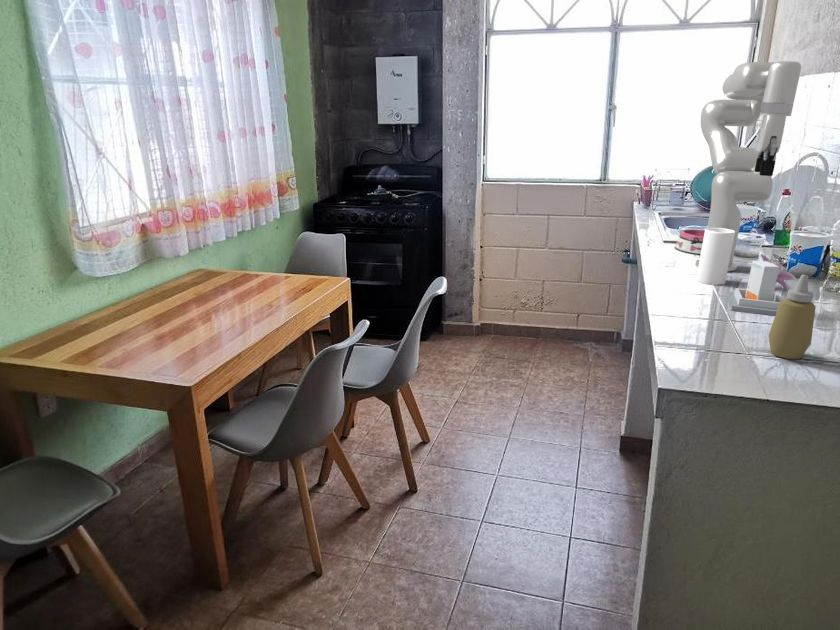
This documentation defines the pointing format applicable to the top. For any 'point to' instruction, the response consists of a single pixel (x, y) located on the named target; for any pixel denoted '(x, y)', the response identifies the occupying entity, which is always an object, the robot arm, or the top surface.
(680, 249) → the dog bowl
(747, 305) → the grey square frame
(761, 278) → the skincare box
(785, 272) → the lily
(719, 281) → the cup
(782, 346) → the squeeze bottle
